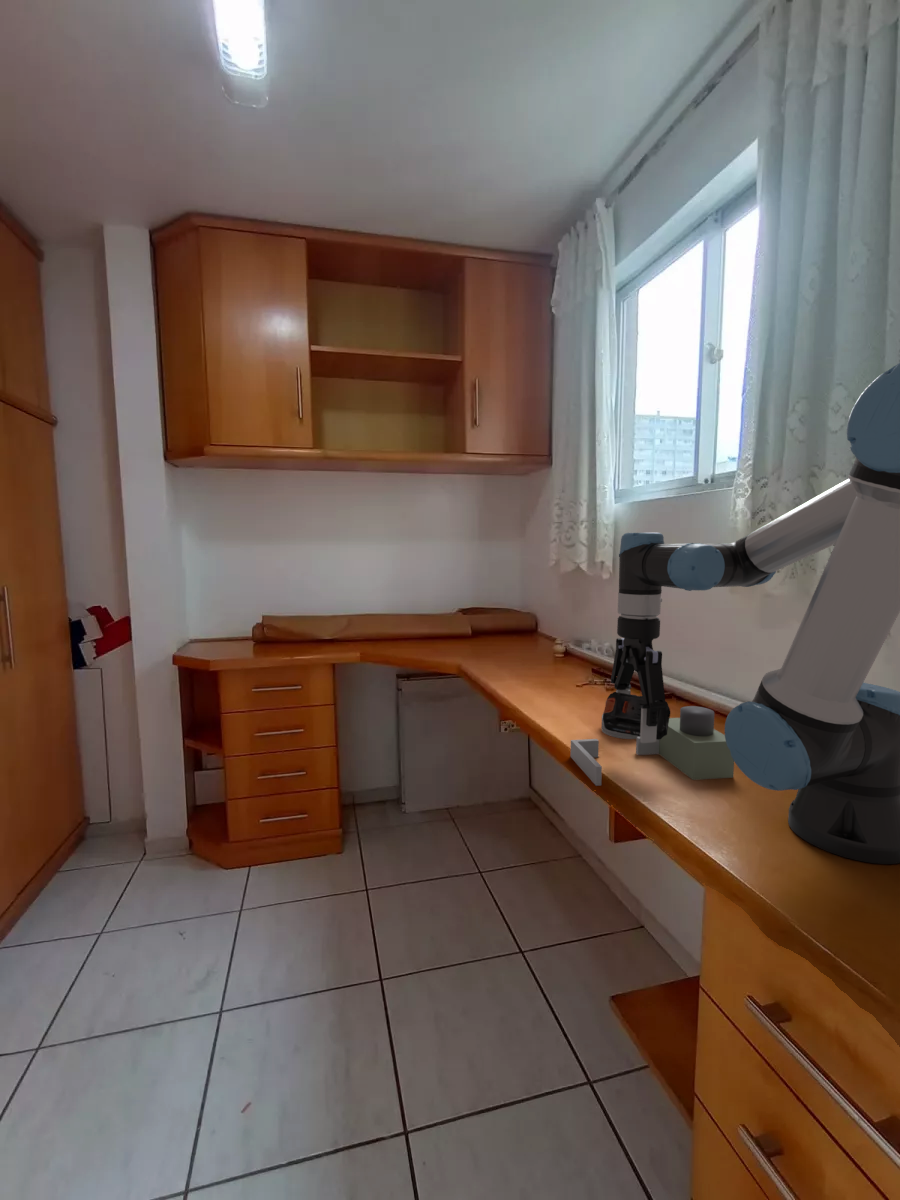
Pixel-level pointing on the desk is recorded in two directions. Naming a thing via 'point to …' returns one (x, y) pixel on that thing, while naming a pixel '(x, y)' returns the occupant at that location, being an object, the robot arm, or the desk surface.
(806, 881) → the desk surface
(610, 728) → the battery
